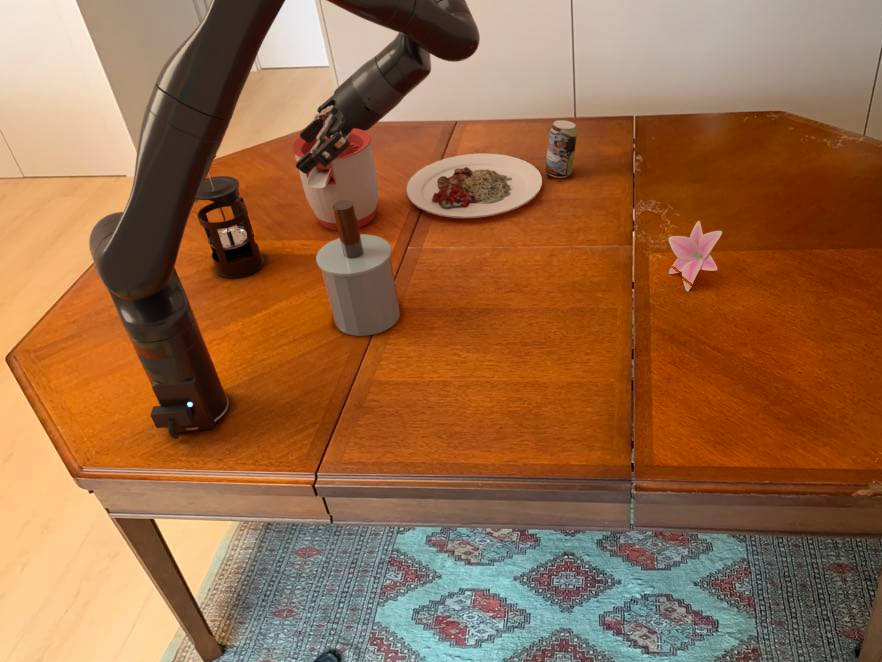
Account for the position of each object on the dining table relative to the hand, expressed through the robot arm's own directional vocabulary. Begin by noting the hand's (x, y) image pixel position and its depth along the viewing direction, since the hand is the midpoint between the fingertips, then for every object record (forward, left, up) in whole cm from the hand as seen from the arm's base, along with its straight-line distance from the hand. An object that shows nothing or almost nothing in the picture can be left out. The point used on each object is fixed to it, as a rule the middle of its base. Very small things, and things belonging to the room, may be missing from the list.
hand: (302, 153), depth 132 cm
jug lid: (-8, -6, -15) cm, 18 cm away
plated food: (+36, -28, -28) cm, 54 cm away
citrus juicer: (+28, 0, -28) cm, 40 cm away
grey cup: (-8, -6, -28) cm, 29 cm away
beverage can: (+40, -48, -28) cm, 69 cm away
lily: (-6, -66, -28) cm, 72 cm away
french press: (+14, +20, -28) cm, 37 cm away
